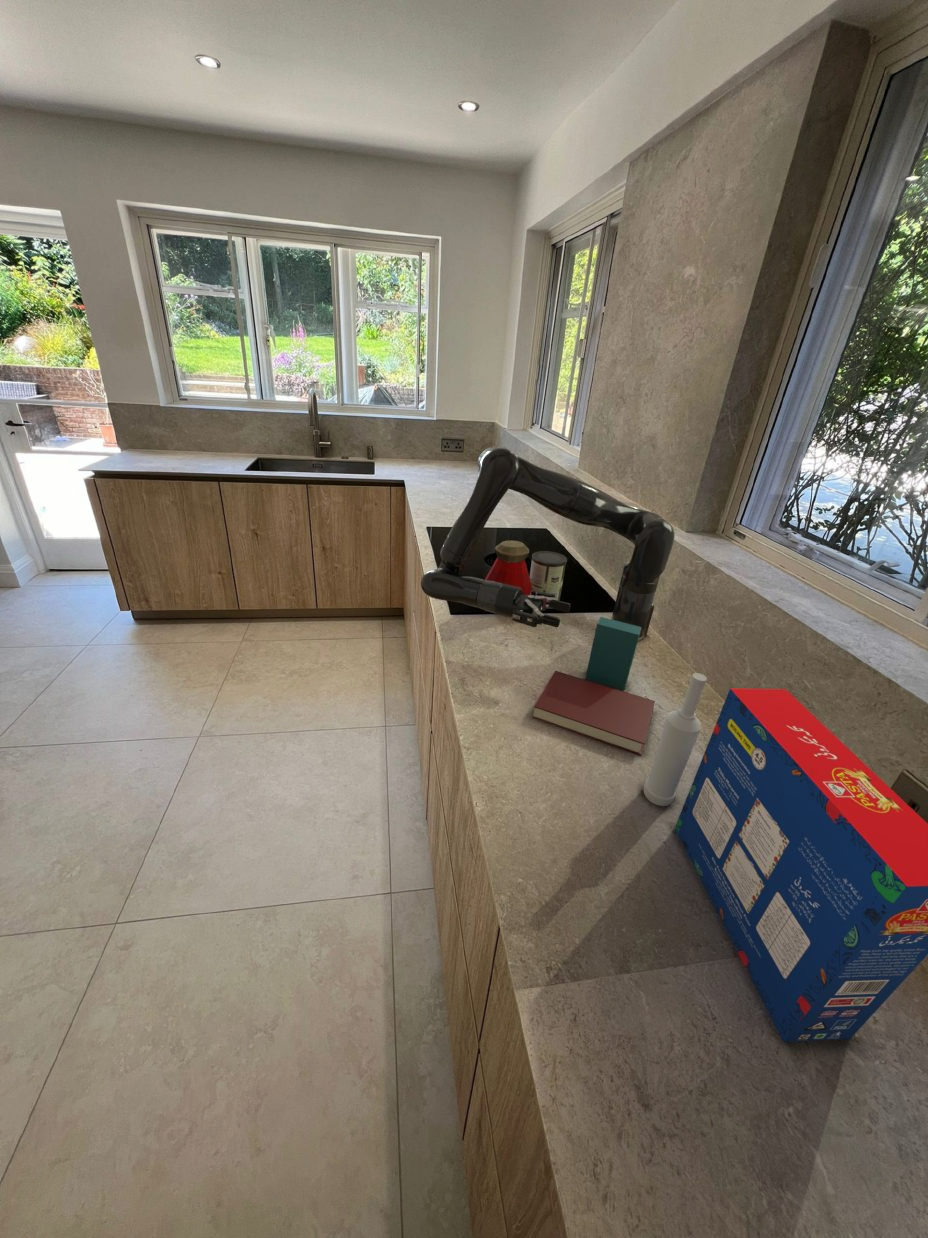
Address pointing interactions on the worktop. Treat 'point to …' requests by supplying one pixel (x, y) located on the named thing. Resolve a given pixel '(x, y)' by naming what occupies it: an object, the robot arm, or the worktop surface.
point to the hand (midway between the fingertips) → (564, 615)
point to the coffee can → (548, 572)
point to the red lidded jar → (511, 566)
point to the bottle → (675, 746)
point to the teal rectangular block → (612, 653)
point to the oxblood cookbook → (595, 711)
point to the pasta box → (806, 865)
